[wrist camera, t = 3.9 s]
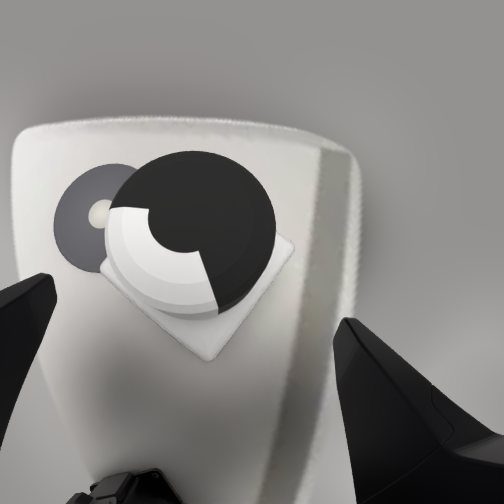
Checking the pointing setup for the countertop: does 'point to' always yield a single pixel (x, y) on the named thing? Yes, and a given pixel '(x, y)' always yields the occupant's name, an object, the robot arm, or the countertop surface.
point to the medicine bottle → (194, 246)
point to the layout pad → (88, 215)
